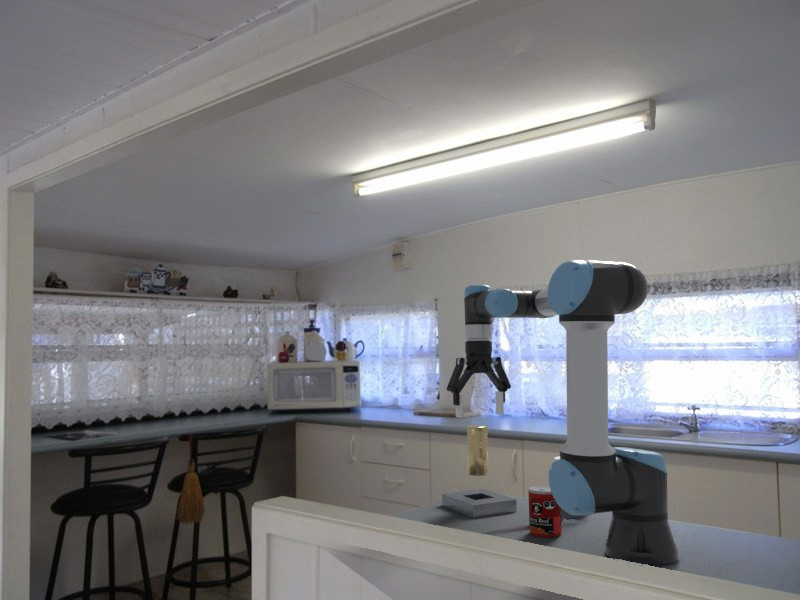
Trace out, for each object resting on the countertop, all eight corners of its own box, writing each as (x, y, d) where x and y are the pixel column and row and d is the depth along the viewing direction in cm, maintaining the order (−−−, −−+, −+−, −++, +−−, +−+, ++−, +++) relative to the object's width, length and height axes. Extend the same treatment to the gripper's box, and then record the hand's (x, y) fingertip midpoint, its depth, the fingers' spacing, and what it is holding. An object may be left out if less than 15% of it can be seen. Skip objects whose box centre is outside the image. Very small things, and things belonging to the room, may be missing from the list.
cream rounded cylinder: (492, 474, 188) (491, 427, 189) (475, 476, 186) (474, 428, 187) (480, 471, 193) (479, 425, 194) (464, 473, 191) (463, 426, 192)
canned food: (523, 534, 168) (522, 488, 168) (540, 527, 174) (539, 483, 174) (550, 540, 162) (549, 493, 163) (567, 533, 168) (566, 487, 169)
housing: (516, 516, 185) (516, 499, 185) (473, 522, 178) (473, 505, 179) (483, 504, 199) (483, 488, 199) (442, 510, 193) (442, 493, 193)
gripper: (506, 340, 201) (507, 412, 200) (433, 340, 190) (434, 417, 188) (522, 339, 195) (523, 414, 193) (447, 340, 183) (449, 419, 181)
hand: (479, 416), depth 191 cm, fingers open, 13 cm apart
